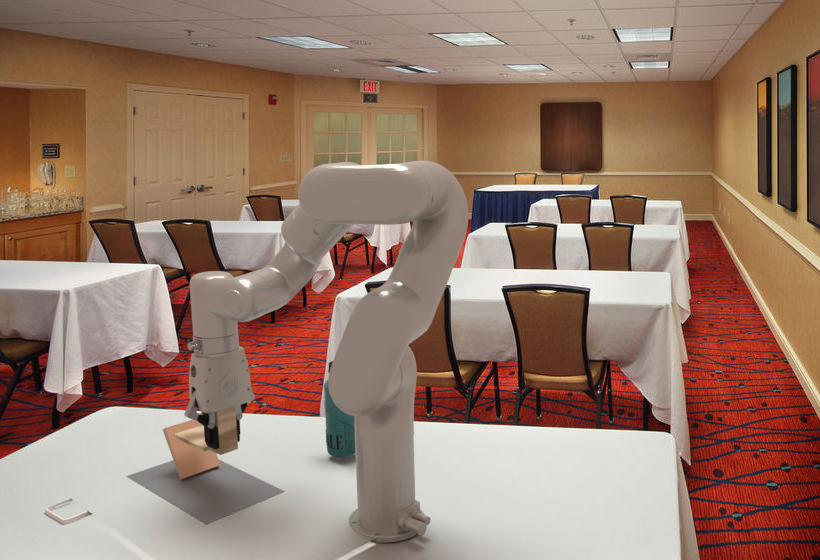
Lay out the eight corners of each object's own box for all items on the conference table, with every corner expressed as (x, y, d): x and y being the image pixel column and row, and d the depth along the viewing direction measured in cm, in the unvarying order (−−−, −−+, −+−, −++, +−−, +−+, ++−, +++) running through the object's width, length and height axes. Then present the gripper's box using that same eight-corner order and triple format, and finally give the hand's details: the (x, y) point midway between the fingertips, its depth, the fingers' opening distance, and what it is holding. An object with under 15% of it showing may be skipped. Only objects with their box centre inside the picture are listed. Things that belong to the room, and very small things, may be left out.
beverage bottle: (361, 451, 160) (358, 356, 157) (356, 465, 154) (352, 366, 150) (330, 451, 161) (325, 356, 157) (323, 465, 154) (318, 366, 151)
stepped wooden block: (243, 446, 141) (241, 404, 139) (214, 457, 137) (211, 413, 135) (203, 428, 150) (200, 388, 149) (174, 437, 146) (171, 396, 144)
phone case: (65, 528, 133) (144, 495, 144) (64, 520, 133) (144, 488, 144) (44, 515, 138) (123, 485, 149) (43, 508, 137) (122, 478, 149)
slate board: (285, 496, 141) (284, 491, 141) (206, 529, 130) (206, 524, 130) (201, 455, 161) (200, 450, 160) (126, 481, 149) (126, 476, 149)
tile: (220, 464, 152) (202, 416, 154) (183, 478, 146) (165, 428, 148) (217, 466, 153) (199, 418, 155) (180, 480, 147) (162, 430, 149)
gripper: (184, 357, 128) (193, 464, 131) (268, 337, 140) (274, 435, 143) (161, 349, 133) (169, 452, 137) (244, 330, 145) (250, 425, 148)
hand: (223, 442), depth 140 cm, fingers closed on stepped wooden block, 3 cm apart
